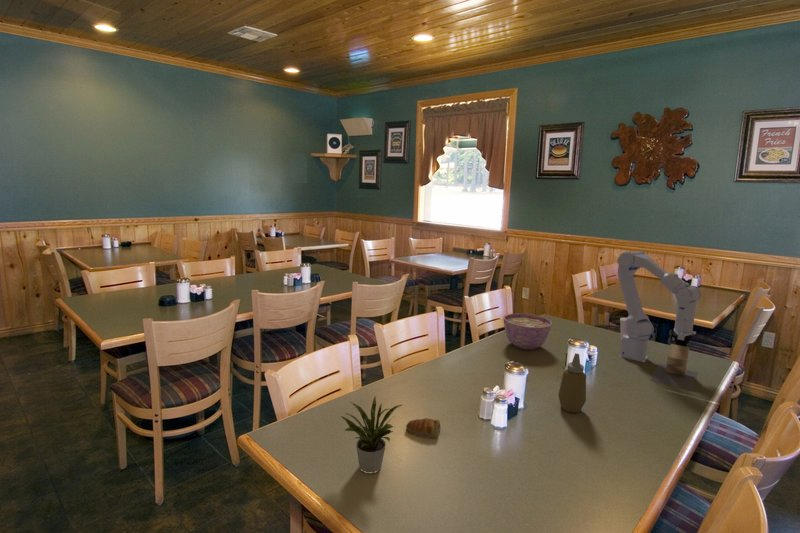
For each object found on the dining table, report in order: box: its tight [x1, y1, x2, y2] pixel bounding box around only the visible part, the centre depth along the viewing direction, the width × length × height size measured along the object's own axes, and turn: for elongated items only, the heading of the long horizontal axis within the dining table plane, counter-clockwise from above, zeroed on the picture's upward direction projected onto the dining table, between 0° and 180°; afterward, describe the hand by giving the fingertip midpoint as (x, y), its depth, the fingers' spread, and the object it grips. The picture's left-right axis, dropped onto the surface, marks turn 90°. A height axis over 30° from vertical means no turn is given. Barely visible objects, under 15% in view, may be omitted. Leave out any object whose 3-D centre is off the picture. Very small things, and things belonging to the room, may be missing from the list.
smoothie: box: [619, 317, 628, 341], centre depth 207 cm, size 6×6×14 cm
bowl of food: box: [503, 313, 553, 350], centre depth 194 cm, size 20×20×12 cm
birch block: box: [666, 343, 690, 376], centre depth 169 cm, size 6×6×10 cm
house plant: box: [340, 395, 403, 472], centre depth 108 cm, size 14×14×16 cm
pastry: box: [405, 417, 442, 439], centre depth 125 cm, size 9×7×4 cm
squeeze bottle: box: [558, 352, 587, 414], centre depth 140 cm, size 8×8×18 cm
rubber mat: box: [649, 362, 698, 392], centre depth 168 cm, size 13×21×1 cm, turn 144°
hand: (680, 353), depth 170 cm, fingers closed, pressing on birch block
